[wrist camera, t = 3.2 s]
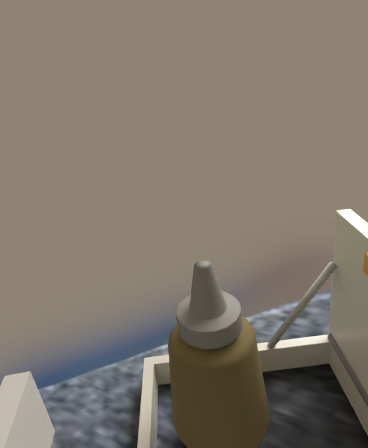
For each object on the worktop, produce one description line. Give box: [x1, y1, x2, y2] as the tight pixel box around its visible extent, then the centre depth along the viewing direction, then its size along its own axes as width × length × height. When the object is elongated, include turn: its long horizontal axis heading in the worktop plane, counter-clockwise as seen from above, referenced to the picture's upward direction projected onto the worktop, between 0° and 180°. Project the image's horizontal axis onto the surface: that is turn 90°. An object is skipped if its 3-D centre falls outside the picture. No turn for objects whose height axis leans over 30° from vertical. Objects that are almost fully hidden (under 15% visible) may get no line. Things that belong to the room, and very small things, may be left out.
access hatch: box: [137, 209, 368, 448], centre depth 27 cm, size 20×15×17 cm
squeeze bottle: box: [168, 260, 270, 448], centre depth 27 cm, size 8×8×18 cm
